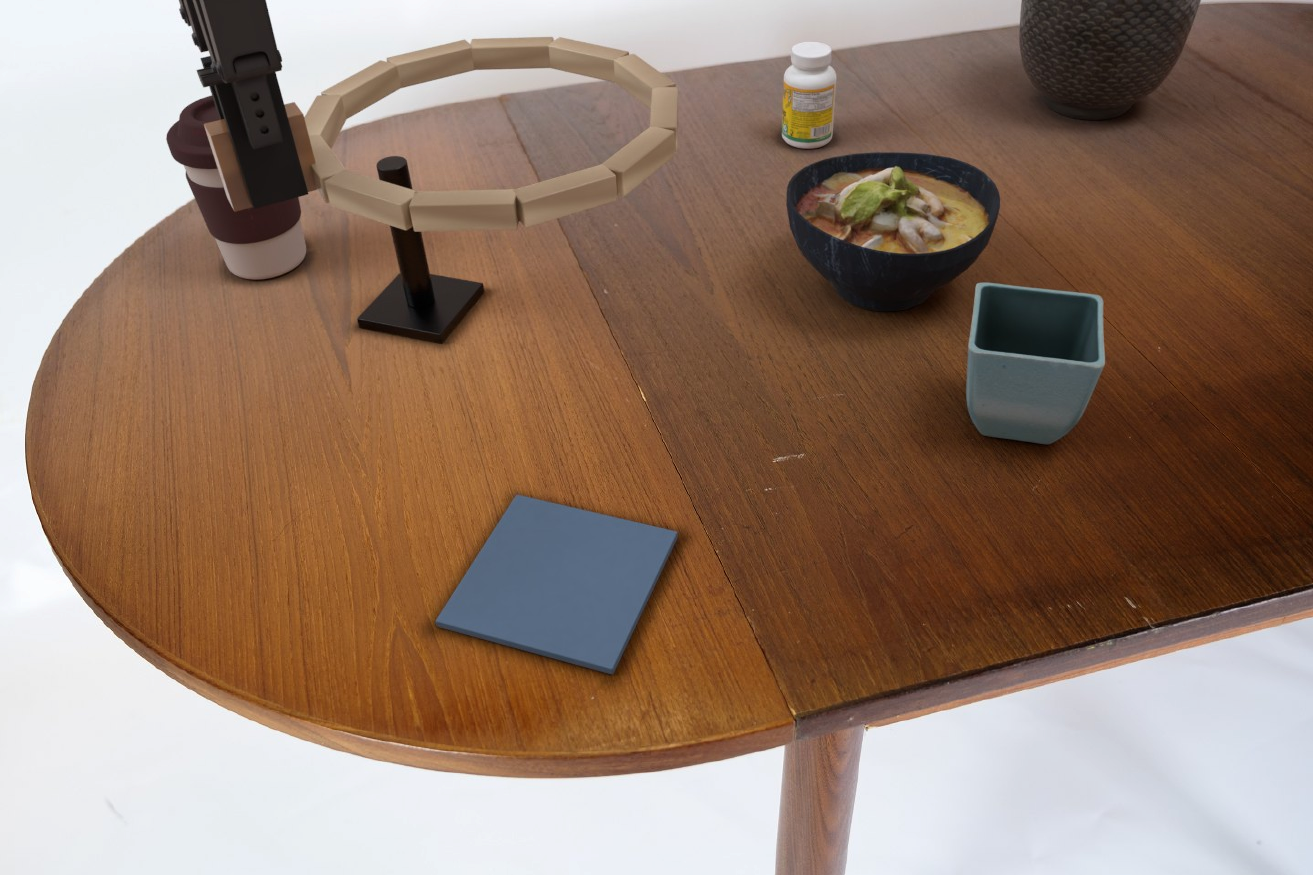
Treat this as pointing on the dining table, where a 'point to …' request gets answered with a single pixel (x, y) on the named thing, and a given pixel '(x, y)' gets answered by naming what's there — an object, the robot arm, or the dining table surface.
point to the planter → (1101, 51)
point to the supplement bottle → (809, 96)
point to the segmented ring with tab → (469, 205)
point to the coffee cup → (245, 236)
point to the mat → (560, 583)
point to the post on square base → (416, 283)
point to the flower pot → (1032, 360)
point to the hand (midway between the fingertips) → (273, 188)
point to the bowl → (891, 223)
